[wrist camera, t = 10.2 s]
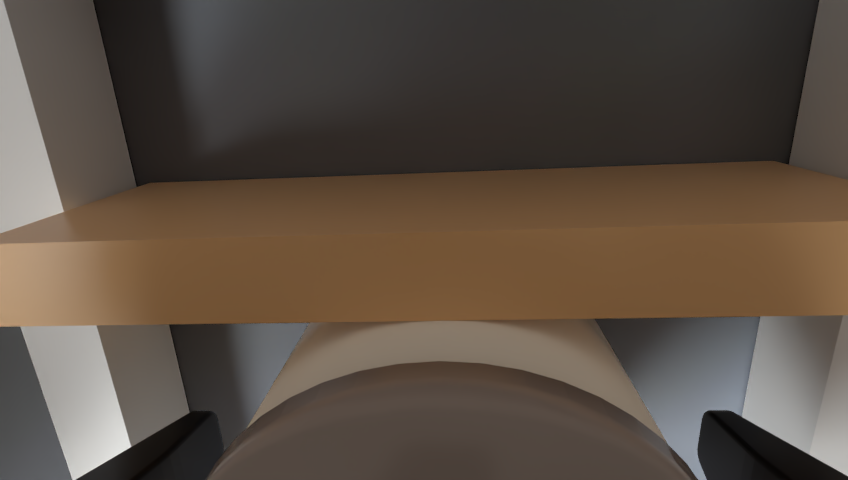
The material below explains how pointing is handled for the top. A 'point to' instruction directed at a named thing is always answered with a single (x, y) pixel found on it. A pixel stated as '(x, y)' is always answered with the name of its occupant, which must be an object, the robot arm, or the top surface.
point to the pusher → (441, 248)
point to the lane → (152, 344)
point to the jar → (452, 407)
